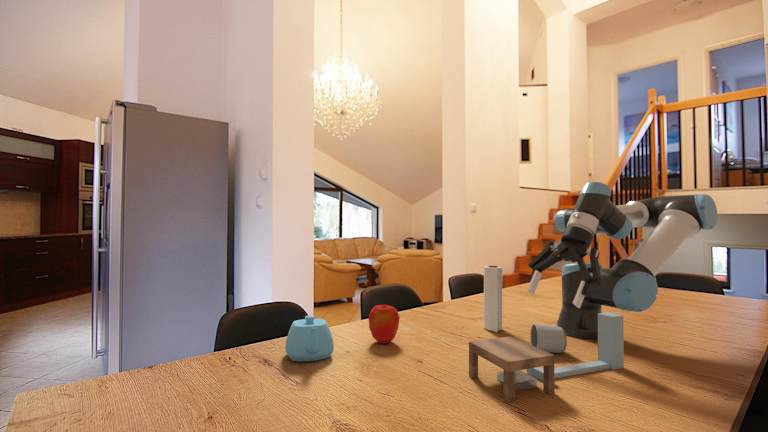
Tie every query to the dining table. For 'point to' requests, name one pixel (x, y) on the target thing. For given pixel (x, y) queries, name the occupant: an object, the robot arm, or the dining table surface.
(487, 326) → the paper towel roll
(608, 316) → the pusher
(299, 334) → the teapot
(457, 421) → the dining table surface
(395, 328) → the apple
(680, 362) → the dining table surface
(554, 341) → the ceramic mug
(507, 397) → the walnut table
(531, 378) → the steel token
